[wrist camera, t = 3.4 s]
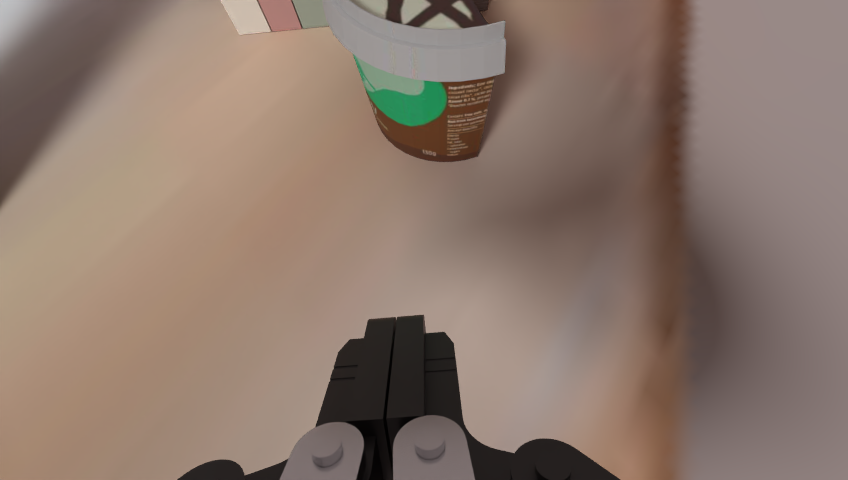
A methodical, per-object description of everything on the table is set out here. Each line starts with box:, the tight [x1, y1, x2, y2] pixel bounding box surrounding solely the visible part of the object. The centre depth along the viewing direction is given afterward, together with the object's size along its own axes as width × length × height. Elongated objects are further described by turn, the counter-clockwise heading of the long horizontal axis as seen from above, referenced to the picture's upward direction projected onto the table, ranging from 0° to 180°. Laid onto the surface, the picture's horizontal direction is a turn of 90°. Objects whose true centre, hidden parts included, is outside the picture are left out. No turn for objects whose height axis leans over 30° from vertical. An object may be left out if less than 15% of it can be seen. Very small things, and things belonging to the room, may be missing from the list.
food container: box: [323, 0, 506, 162], centre depth 22 cm, size 12×6×10 cm, turn 20°
